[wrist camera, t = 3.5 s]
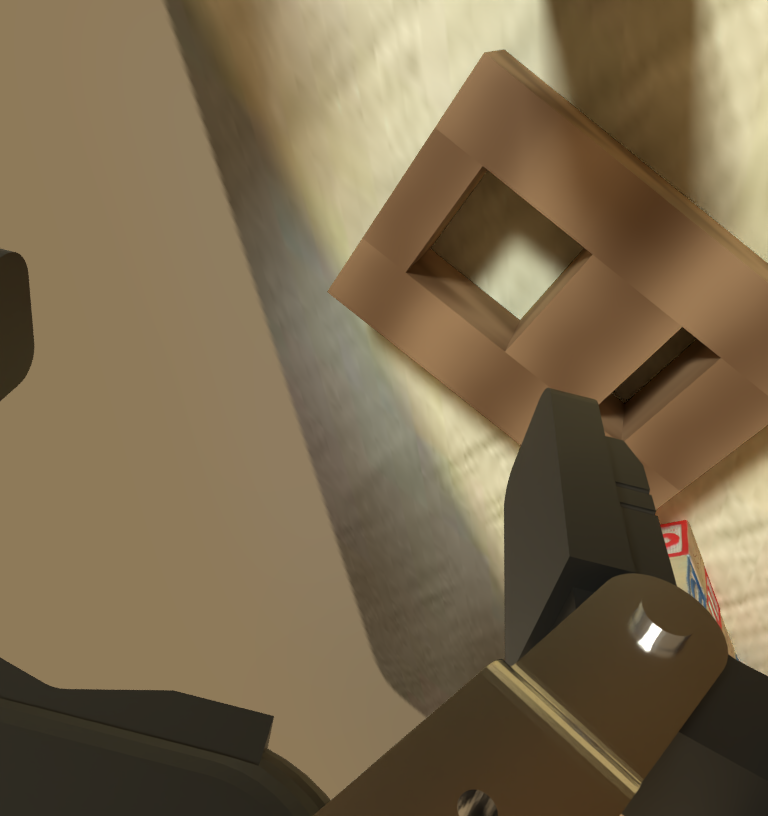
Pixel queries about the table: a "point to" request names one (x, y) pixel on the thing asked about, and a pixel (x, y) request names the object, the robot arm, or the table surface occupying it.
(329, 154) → the table surface
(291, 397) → the table surface
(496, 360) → the plate
